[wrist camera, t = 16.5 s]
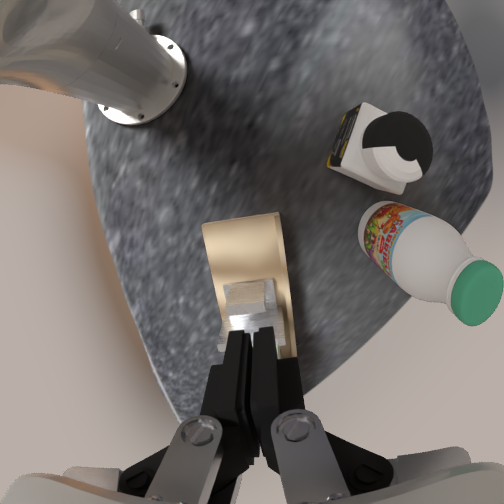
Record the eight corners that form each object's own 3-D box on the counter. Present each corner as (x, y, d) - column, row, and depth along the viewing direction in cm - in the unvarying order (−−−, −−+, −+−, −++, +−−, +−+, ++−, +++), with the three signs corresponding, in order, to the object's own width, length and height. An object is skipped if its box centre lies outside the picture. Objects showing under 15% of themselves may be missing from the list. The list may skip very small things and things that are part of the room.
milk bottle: (408, 196, 32) (523, 236, 12) (410, 254, 34) (506, 330, 15) (353, 203, 32) (449, 253, 13) (358, 264, 34) (435, 359, 15)
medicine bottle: (344, 112, 29) (383, 88, 18) (395, 138, 30) (450, 130, 18) (324, 166, 31) (356, 167, 20) (377, 189, 32) (427, 203, 20)
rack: (203, 223, 34) (182, 244, 25) (278, 211, 33) (283, 228, 24) (239, 378, 41) (233, 422, 32) (298, 372, 40) (303, 416, 31)
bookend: (218, 284, 35) (208, 312, 28) (277, 276, 34) (280, 303, 27) (226, 319, 36) (218, 351, 29) (282, 313, 35) (285, 345, 29)
